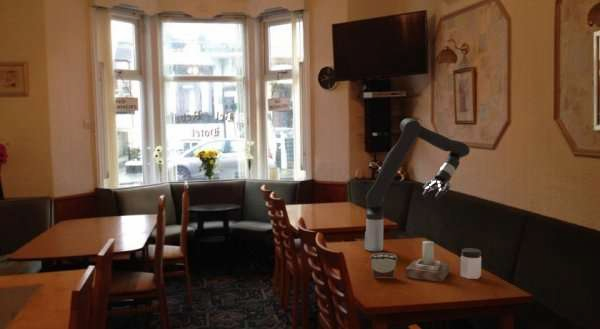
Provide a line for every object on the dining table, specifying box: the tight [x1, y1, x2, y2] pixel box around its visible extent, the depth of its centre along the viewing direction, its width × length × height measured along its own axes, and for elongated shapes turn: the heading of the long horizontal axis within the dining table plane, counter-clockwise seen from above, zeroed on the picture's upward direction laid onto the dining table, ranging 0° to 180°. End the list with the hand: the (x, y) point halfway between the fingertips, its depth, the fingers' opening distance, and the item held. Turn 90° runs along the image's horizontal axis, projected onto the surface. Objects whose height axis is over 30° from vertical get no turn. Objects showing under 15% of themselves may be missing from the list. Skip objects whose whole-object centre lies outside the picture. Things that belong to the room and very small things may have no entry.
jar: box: [460, 247, 482, 280], centre depth 230 cm, size 9×8×12 cm
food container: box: [369, 252, 398, 279], centre depth 231 cm, size 12×6×10 cm, turn 84°
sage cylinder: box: [421, 240, 435, 266], centre depth 232 cm, size 5×5×11 cm
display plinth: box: [405, 258, 450, 283], centre depth 232 cm, size 16×16×6 cm
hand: (429, 197), depth 264 cm, fingers open, 8 cm apart
